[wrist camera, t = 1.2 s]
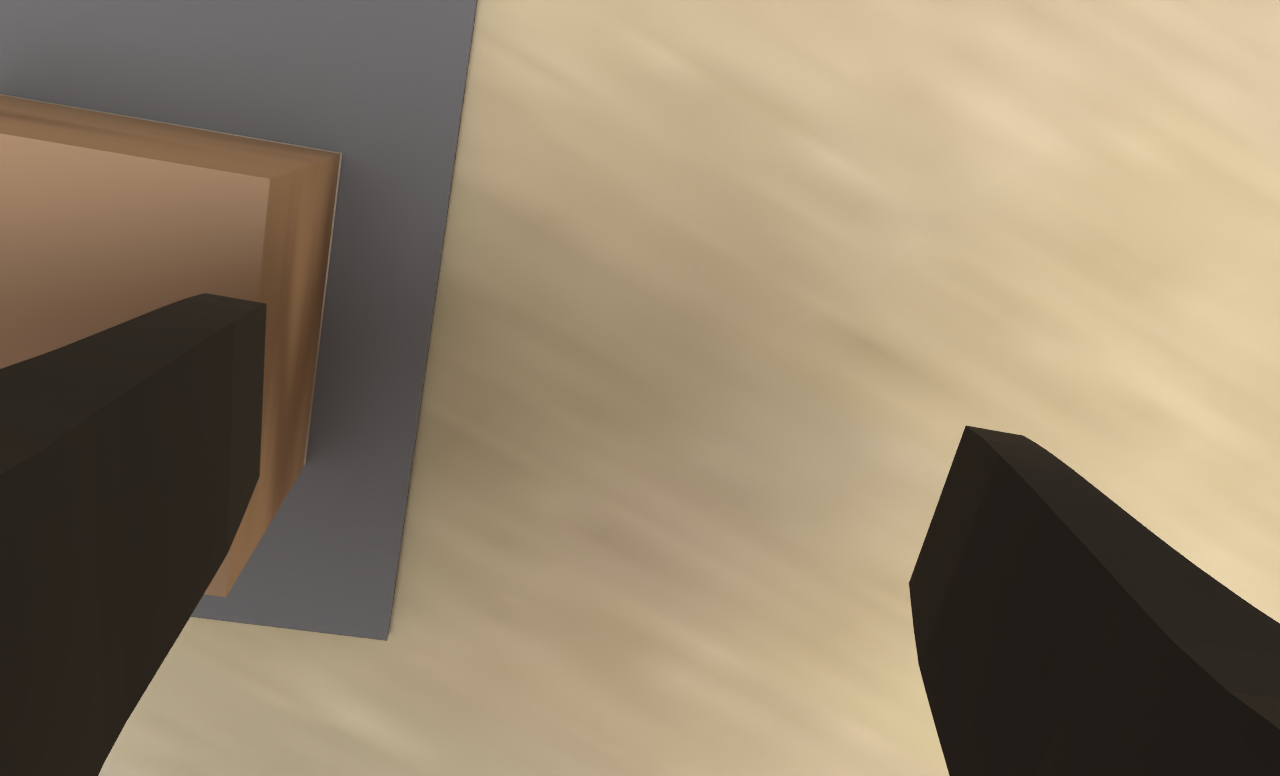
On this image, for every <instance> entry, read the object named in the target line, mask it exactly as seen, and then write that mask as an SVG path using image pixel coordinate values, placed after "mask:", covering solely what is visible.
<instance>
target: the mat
mask: <svg viewBox="0 0 1280 776" xmlns="http://www.w3.org/2000/svg"><path fill="white" fill-rule="evenodd" d="M476 6H477V0H0V94H3V95H9V96H14V97H20V98H26V99H32V100H38V101H43V102H49V103H55V104H61V105H67V106H72V107H78V108H84V109H90V110H96V111H101V112H107V113H113V114H119V115H125V116H130V117H136V118H142V119H148V120H154V121H159V122H165V123H171V124H177V125H183V126H188V127H194V128H200V129H206V130H211V131H217V132H223V133H229V134H235V135H240V136H246V137H252V138H258V139H264V140H269V141H275V142H281V143H287V144H293V145H298V146H304V147H310V148H316V149H322V150H327V151H333V152H339V153H342V159H341V168H340V176H339V184H338V193H337V201H336V210H335V218H334V227H333V235H332V243H331V252H330V260H329V269H328V277H327V286H326V294H325V302H324V311H323V319H322V328H321V336H320V345H319V353H318V361H317V370H316V378H315V387H314V395H313V404H312V412H311V420H310V429H309V437H308V446H307V454H306V463H305V466H304V467H303V469H302V471H301V472H300V474H299V476H298V477H297V479H296V481H295V482H294V484H293V486H292V487H291V489H290V491H289V492H288V494H287V496H286V498H285V499H284V501H283V503H282V504H281V506H280V508H279V509H278V511H277V513H276V514H275V516H274V518H273V519H272V521H271V523H270V524H269V526H268V528H267V529H266V531H265V533H264V534H263V536H262V538H261V539H260V541H259V543H258V544H257V546H256V548H255V549H254V551H253V553H252V555H251V556H250V558H249V560H248V561H247V563H246V565H245V566H244V568H243V570H242V571H241V573H240V575H239V576H238V578H237V580H236V581H235V583H234V585H233V586H232V588H231V590H230V591H229V593H228V595H227V596H226V597H220V596H212V595H203V596H202V598H201V600H200V601H199V603H198V605H197V606H196V608H195V610H194V611H193V613H192V615H191V616H190V617H197V618H205V619H213V620H222V621H230V622H238V623H246V624H254V625H263V626H271V627H279V628H287V629H296V630H304V631H312V632H320V633H328V634H337V635H345V636H353V637H361V638H369V639H378V640H386V641H387V638H388V634H389V627H390V620H391V613H392V605H393V598H394V591H395V584H396V577H397V570H398V563H399V556H400V548H401V541H402V534H403V527H404V520H405V513H406V506H407V498H408V491H409V484H410V477H411V470H412V463H413V456H414V449H415V441H416V434H417V427H418V420H419V413H420V406H421V399H422V392H423V384H424V377H425V370H426V363H427V356H428V349H429V342H430V334H431V327H432V320H433V313H434V306H435V299H436V292H437V285H438V277H439V270H440V263H441V256H442V249H443V242H444V235H445V227H446V220H447V213H448V206H449V199H450V192H451V185H452V178H453V170H454V163H455V156H456V149H457V142H458V135H459V128H460V120H461V113H462V106H463V99H464V92H465V85H466V78H467V71H468V63H469V56H470V49H471V42H472V35H473V28H474V21H475V13H476Z"/></svg>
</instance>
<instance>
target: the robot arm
mask: <svg viewBox="0 0 1280 776" xmlns="http://www.w3.org/2000/svg"><path fill="white" fill-rule="evenodd" d="M266 308H267V304H266V303H260V302H254V301H248V300H243V299H237V298H231V297H226V296H220V295H214V294H208V293H203V294H199V295H196V296H192V297H189V298H185V299H182V300H180V301H177V302H174V303H171V304H169V305H166V306H163V307H161V308H158V309H156V310H153V311H151V312H148V313H146V314H143V315H141V316H138V317H136V318H133V319H131V320H128V321H126V322H124V323H121V324H119V325H116V326H114V327H111V328H109V329H106V330H104V331H101V332H99V333H96V334H93V335H91V336H88V337H86V338H83V339H81V340H78V341H76V342H73V343H71V344H68V345H66V346H63V347H61V348H58V349H56V350H53V351H50V352H47V353H44V354H42V355H39V356H36V357H33V358H30V359H27V360H24V361H21V362H19V363H16V364H13V365H10V366H7V367H4V368H1V369H0V776H98V775H99V772H100V770H101V768H102V766H103V764H104V762H105V760H106V758H107V756H108V754H109V753H110V751H111V749H112V747H113V745H114V743H115V742H116V740H117V738H118V736H119V734H120V732H121V731H122V729H123V727H124V725H125V723H126V721H127V720H128V718H129V717H130V715H131V713H132V712H133V710H134V708H135V707H136V705H137V703H138V702H139V700H140V698H141V697H142V695H143V694H144V692H145V690H146V689H147V687H148V685H149V684H150V682H151V680H152V679H153V677H154V675H155V674H156V672H157V671H158V669H159V667H160V666H161V664H162V662H163V661H164V659H165V657H166V656H167V654H168V652H169V651H170V649H171V648H172V646H173V644H174V643H175V641H176V639H177V638H178V636H179V634H180V633H181V631H182V629H183V628H184V626H185V625H186V623H187V621H188V620H189V618H190V616H191V615H192V613H193V611H194V610H195V608H196V606H197V605H198V603H199V601H200V600H201V598H202V596H203V595H204V593H205V591H206V590H207V588H208V586H209V585H210V583H211V581H212V580H213V578H214V576H215V575H216V573H217V571H218V569H219V568H220V566H221V564H222V563H223V561H224V559H225V557H226V556H227V554H228V552H229V549H230V547H231V545H232V542H233V540H234V538H235V535H236V533H237V531H238V529H239V526H240V524H241V522H242V519H243V517H244V514H245V512H246V509H247V507H248V504H249V502H250V499H251V497H252V494H253V492H254V489H255V487H256V484H257V482H258V479H259V477H260V457H261V432H262V407H263V382H264V358H265V333H266ZM909 588H910V597H911V607H912V617H913V626H914V634H915V641H916V648H917V655H918V662H919V667H920V671H921V675H922V679H923V683H924V686H925V690H926V694H927V697H928V701H929V705H930V708H931V712H932V715H933V719H934V723H935V726H936V730H937V733H938V737H939V740H940V744H941V747H942V751H943V754H944V758H945V761H946V765H947V768H948V772H949V775H950V776H1280V624H1279V623H1278V622H1276V621H1275V620H1273V619H1272V618H1270V617H1269V616H1267V615H1266V614H1264V613H1263V612H1261V611H1260V610H1258V609H1257V608H1255V607H1254V606H1252V605H1251V604H1249V603H1248V602H1246V601H1245V600H1243V599H1242V598H1241V597H1239V596H1238V595H1236V594H1235V593H1234V592H1232V591H1231V590H1229V589H1228V588H1227V587H1225V586H1224V585H1222V584H1221V583H1220V582H1218V581H1217V580H1215V579H1214V578H1212V577H1211V576H1210V575H1208V574H1207V573H1205V572H1204V571H1203V570H1201V569H1200V568H1198V567H1197V566H1196V565H1194V564H1193V563H1192V562H1190V561H1189V560H1188V559H1186V558H1185V557H1184V556H1182V555H1181V554H1180V553H1178V552H1177V551H1176V550H1174V549H1173V548H1172V547H1170V546H1169V545H1168V544H1167V543H1165V542H1164V541H1163V540H1161V539H1160V538H1159V537H1157V536H1156V535H1155V534H1154V533H1152V532H1151V531H1150V530H1148V529H1147V528H1146V527H1145V526H1143V525H1142V524H1141V523H1140V522H1138V521H1137V520H1136V519H1134V518H1133V517H1132V516H1131V515H1129V514H1128V513H1127V512H1126V511H1124V510H1123V509H1122V508H1121V507H1119V506H1118V505H1117V504H1116V503H1114V502H1113V501H1112V500H1111V499H1109V498H1108V497H1107V496H1106V495H1104V494H1103V493H1102V492H1100V491H1099V490H1098V489H1097V488H1095V487H1094V486H1093V485H1092V484H1090V483H1089V482H1088V481H1087V480H1085V479H1084V478H1083V477H1082V476H1080V475H1079V474H1078V473H1076V472H1075V471H1074V470H1073V469H1071V468H1070V467H1069V466H1067V465H1066V464H1065V463H1063V462H1062V461H1061V460H1059V459H1058V458H1057V457H1055V456H1054V455H1053V454H1051V453H1050V452H1048V451H1047V450H1046V449H1044V448H1043V447H1041V446H1039V445H1038V444H1036V443H1035V442H1033V441H1031V440H1030V439H1028V438H1026V437H1024V436H1022V435H1016V434H1011V433H1005V432H999V431H993V430H988V429H982V428H976V427H971V426H966V427H965V429H964V432H963V435H962V438H961V440H960V443H959V446H958V449H957V452H956V454H955V457H954V460H953V463H952V465H951V468H950V471H949V474H948V477H947V479H946V482H945V485H944V488H943V490H942V493H941V496H940V499H939V502H938V504H937V507H936V510H935V513H934V515H933V518H932V521H931V524H930V527H929V529H928V532H927V535H926V538H925V540H924V543H923V546H922V549H921V552H920V554H919V557H918V560H917V563H916V565H915V568H914V571H913V574H912V577H911V579H910V582H909Z"/></svg>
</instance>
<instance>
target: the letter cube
mask: <svg viewBox="0 0 1280 776" xmlns="http://www.w3.org/2000/svg"><path fill="white" fill-rule="evenodd" d="M341 159H342V153H339V152H333V151H327V150H322V149H316V148H310V147H304V146H298V145H293V144H287V143H281V142H275V141H269V140H264V139H258V138H252V137H246V136H240V135H235V134H229V133H223V132H217V131H211V130H206V129H200V128H194V127H188V126H183V125H177V124H171V123H165V122H159V121H154V120H148V119H142V118H136V117H130V116H125V115H119V114H113V113H107V112H101V111H96V110H90V109H84V108H78V107H72V106H67V105H61V104H55V103H49V102H43V101H38V100H32V99H26V98H20V97H14V96H9V95H3V94H0V369H1V368H4V367H7V366H10V365H13V364H16V363H19V362H21V361H24V360H27V359H30V358H33V357H36V356H39V355H42V354H44V353H47V352H50V351H53V350H56V349H58V348H61V347H63V346H66V345H68V344H71V343H73V342H76V341H78V340H81V339H83V338H86V337H88V336H91V335H93V334H96V333H99V332H101V331H104V330H106V329H109V328H111V327H114V326H116V325H119V324H121V323H124V322H126V321H128V320H131V319H133V318H136V317H138V316H141V315H143V314H146V313H148V312H151V311H153V310H156V309H158V308H161V307H163V306H166V305H169V304H171V303H174V302H177V301H180V300H182V299H185V298H189V297H192V296H196V295H199V294H203V293H208V294H214V295H220V296H226V297H231V298H237V299H243V300H248V301H254V302H260V303H266V304H267V308H266V333H265V358H264V382H263V407H262V432H261V457H260V477H259V479H258V482H257V484H256V487H255V489H254V492H253V494H252V497H251V499H250V502H249V504H248V507H247V509H246V512H245V514H244V517H243V519H242V522H241V524H240V526H239V529H238V531H237V533H236V535H235V538H234V540H233V542H232V545H231V547H230V549H229V552H228V554H227V556H226V557H225V559H224V561H223V563H222V564H221V566H220V568H219V569H218V571H217V573H216V575H215V576H214V578H213V580H212V581H211V583H210V585H209V586H208V588H207V590H206V591H205V593H204V595H212V596H220V597H226V596H227V595H228V593H229V591H230V590H231V588H232V586H233V585H234V583H235V581H236V580H237V578H238V576H239V575H240V573H241V571H242V570H243V568H244V566H245V565H246V563H247V561H248V560H249V558H250V556H251V555H252V553H253V551H254V549H255V548H256V546H257V544H258V543H259V541H260V539H261V538H262V536H263V534H264V533H265V531H266V529H267V528H268V526H269V524H270V523H271V521H272V519H273V518H274V516H275V514H276V513H277V511H278V509H279V508H280V506H281V504H282V503H283V501H284V499H285V498H286V496H287V494H288V492H289V491H290V489H291V487H292V486H293V484H294V482H295V481H296V479H297V477H298V476H299V474H300V472H301V471H302V469H303V467H304V466H305V463H306V454H307V446H308V437H309V429H310V420H311V412H312V404H313V395H314V387H315V378H316V370H317V361H318V353H319V345H320V336H321V328H322V319H323V311H324V302H325V294H326V286H327V277H328V269H329V260H330V252H331V243H332V235H333V227H334V218H335V210H336V201H337V193H338V184H339V176H340V168H341Z"/></svg>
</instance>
